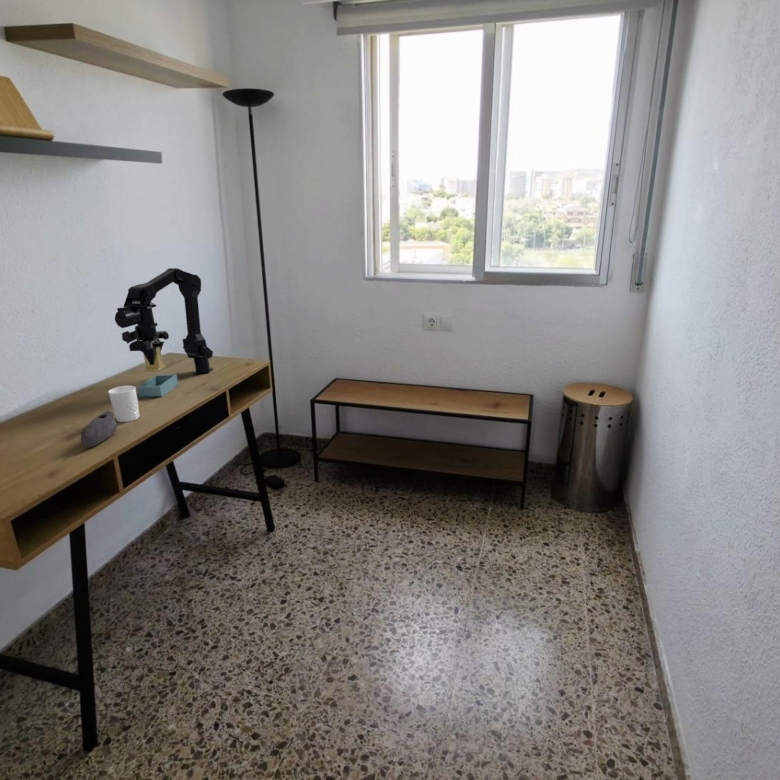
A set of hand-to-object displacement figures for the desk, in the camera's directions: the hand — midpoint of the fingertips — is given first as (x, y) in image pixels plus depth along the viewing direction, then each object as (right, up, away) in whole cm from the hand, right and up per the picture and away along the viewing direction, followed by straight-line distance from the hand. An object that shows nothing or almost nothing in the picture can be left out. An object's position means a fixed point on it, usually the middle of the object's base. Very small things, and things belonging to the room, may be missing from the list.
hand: (154, 363), depth 193 cm
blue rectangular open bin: (0, -10, +3) cm, 11 cm away
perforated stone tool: (+2, -25, -38) cm, 46 cm away
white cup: (+2, -19, -22) cm, 29 cm away
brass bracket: (0, -2, +1) cm, 2 cm away
